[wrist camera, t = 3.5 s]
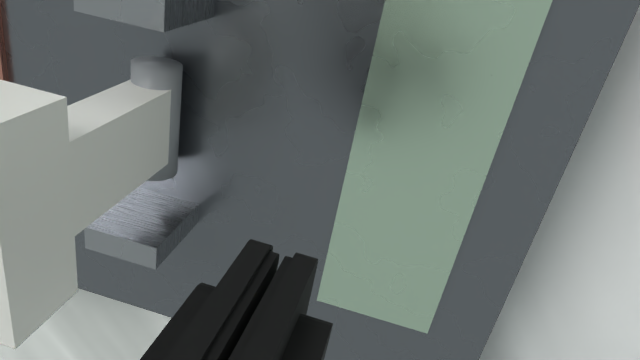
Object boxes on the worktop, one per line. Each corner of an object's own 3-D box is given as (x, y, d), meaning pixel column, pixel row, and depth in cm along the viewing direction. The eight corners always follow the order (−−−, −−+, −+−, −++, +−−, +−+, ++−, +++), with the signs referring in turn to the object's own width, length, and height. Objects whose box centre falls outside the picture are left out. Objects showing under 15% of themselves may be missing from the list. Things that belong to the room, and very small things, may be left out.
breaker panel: (-17, 193, 31) (-165, 272, 24) (-84, -247, 21) (-377, -355, 14) (454, 334, 28) (458, 480, 20) (640, -119, 18) (787, -169, 10)
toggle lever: (138, 171, 21) (-67, 321, 13) (140, 30, 19) (-120, 100, 10) (190, 185, 21) (15, 349, 12) (200, 44, 18) (-17, 129, 10)
